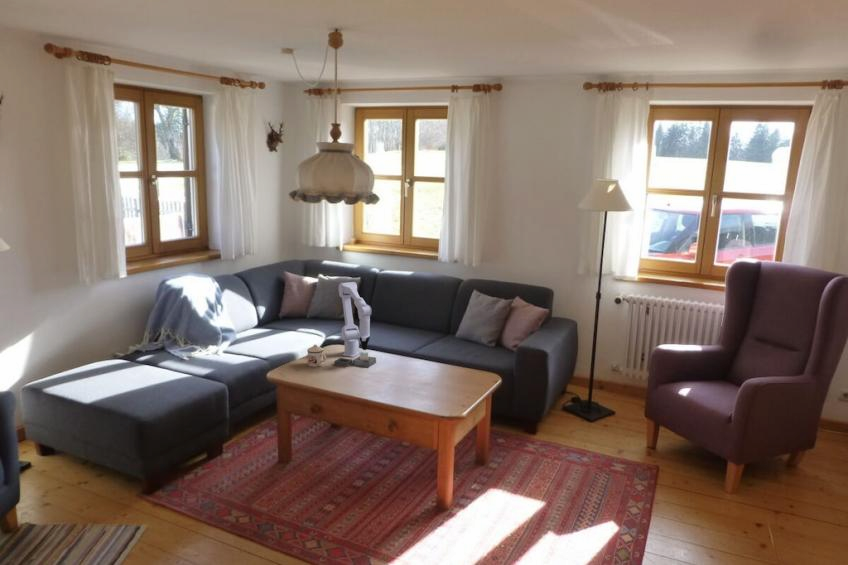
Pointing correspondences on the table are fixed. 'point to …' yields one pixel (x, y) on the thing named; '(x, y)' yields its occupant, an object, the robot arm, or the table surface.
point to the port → (364, 362)
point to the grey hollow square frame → (343, 362)
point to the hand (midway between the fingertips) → (364, 349)
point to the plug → (364, 356)
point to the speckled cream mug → (315, 356)
